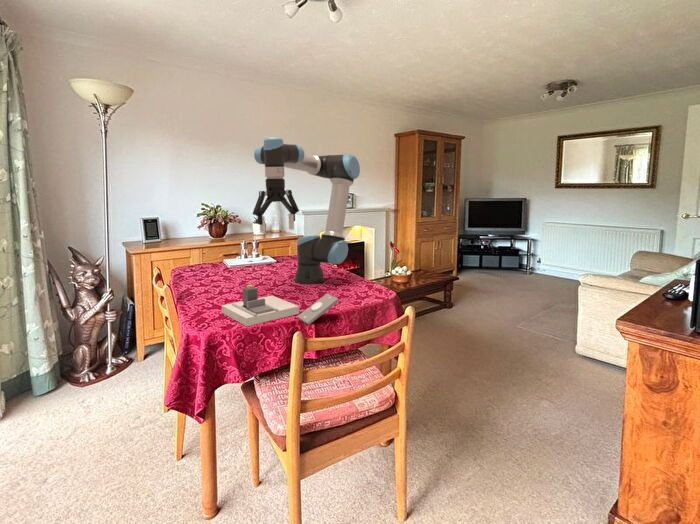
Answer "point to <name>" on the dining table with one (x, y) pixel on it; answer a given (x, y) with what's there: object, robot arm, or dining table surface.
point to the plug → (249, 294)
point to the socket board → (250, 318)
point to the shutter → (258, 306)
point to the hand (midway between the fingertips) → (277, 231)
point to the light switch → (317, 309)
